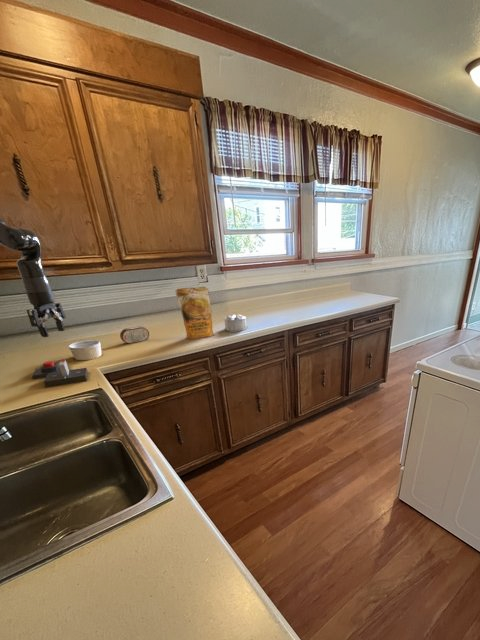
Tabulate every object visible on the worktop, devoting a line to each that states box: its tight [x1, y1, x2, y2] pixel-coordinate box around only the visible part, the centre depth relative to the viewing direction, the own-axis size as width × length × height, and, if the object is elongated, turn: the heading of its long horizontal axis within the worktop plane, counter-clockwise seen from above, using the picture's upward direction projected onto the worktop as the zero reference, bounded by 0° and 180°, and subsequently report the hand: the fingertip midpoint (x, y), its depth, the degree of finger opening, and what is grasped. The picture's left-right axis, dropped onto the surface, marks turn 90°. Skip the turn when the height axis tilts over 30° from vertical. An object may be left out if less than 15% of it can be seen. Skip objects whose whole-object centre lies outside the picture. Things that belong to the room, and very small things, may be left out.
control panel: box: [43, 367, 89, 389], centre depth 135 cm, size 14×10×3 cm
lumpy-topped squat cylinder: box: [224, 313, 247, 333], centre depth 208 cm, size 10×13×9 cm
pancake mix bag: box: [175, 286, 215, 340], centre depth 188 cm, size 7×19×28 cm, turn 122°
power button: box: [42, 360, 55, 368], centre depth 140 cm, size 4×4×2 cm
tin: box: [119, 325, 150, 344], centre depth 183 cm, size 15×3×8 cm, turn 134°
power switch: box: [31, 362, 70, 380], centre depth 141 cm, size 12×9×4 cm
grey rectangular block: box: [58, 359, 70, 377], centre depth 133 cm, size 6×2×5 cm, turn 28°
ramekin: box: [68, 339, 102, 361], centre depth 160 cm, size 13×13×7 cm
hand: (53, 333), depth 125 cm, fingers open, 8 cm apart
